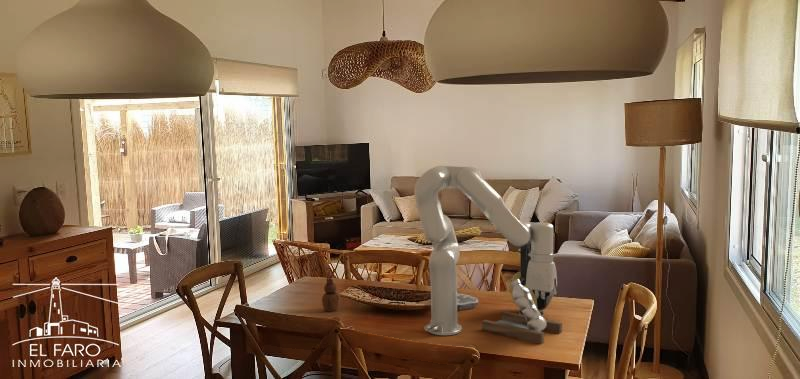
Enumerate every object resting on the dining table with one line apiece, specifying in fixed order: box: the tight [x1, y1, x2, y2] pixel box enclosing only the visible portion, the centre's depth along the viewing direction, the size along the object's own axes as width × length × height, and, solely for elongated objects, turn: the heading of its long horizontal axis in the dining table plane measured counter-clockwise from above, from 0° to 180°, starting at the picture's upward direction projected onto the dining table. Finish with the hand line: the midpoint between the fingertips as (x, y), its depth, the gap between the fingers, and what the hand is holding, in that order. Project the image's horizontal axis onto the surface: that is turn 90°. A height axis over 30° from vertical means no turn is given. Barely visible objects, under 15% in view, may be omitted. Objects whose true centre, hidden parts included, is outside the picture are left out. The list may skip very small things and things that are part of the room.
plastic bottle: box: [509, 279, 547, 332], centre depth 232 cm, size 6×7×20 cm
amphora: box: [509, 241, 554, 317], centre depth 253 cm, size 18×17×30 cm
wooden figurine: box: [321, 275, 340, 313], centre depth 264 cm, size 7×6×15 cm
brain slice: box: [457, 293, 480, 311], centre depth 269 cm, size 20×17×3 cm
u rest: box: [481, 310, 563, 345], centre depth 234 cm, size 16×24×4 cm, turn 49°
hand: (541, 308), depth 228 cm, fingers closed
